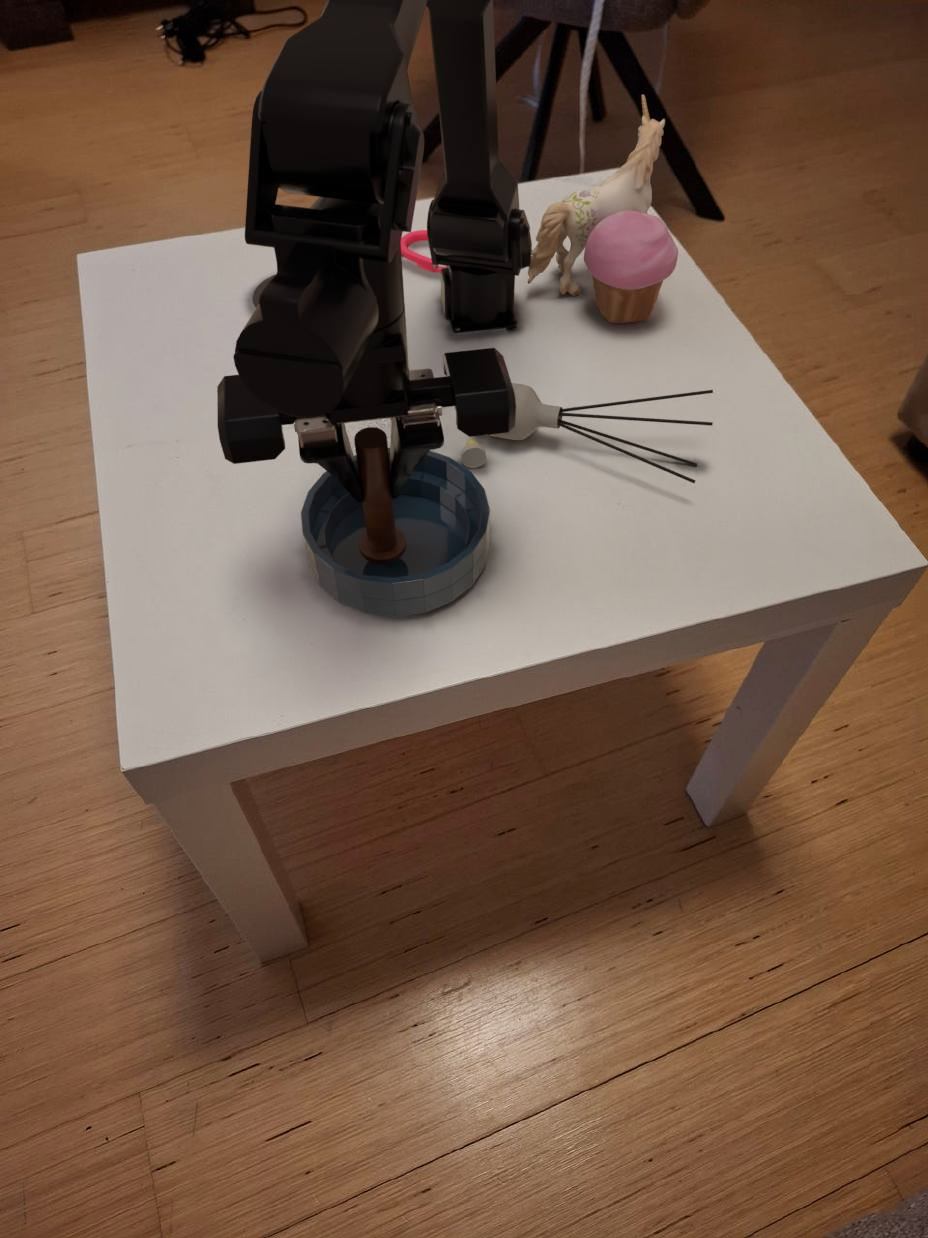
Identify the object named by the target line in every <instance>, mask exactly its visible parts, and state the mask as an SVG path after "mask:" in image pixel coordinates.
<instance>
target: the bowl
mask: <svg viewBox="0 0 928 1238" xmlns="http://www.w3.org/2000/svg"><path fill="white" fill-rule="evenodd" d="M388 455H389V463H390V447H388ZM354 458H355V462H356V465H357V468H358V464H357V457H356V454H355V455H354ZM306 494H307V495H306V497H305V500H304V502H303V505H302V508H301V511H300V519H301V520H300V521H301V531H302V537H303V540H304V542H303V543H304V546H305V551H306V557H307V561H308V565H309V568H310V570H311V572H312V574H313V576H314V578H315V579H316V581H317V583H318V584H319V586H320V588H321V589H323V590H324V591H325V592H326V593H327V594H328V595H330V596H331V597H332V598H333V599H335V600H336V601H337V602H338V603H340V604H341V605H344V606H346V607H349V608H352V609H354V610H356V611H358V612H361V613H364V614H366V615H373V616H384V617H393V618H395V617H396V618H397V617H398V618H399V617H406V616H413V615H420V614H421V615H422V614H426V613H429V612H431V611H434V610H436V609H438V608H441V607H443V606H446V605H448V604H450V603H453V601H455V600H456V599H457V598H459V597H460V596H461V595H462V594H463V593H465V592H466V591H467V590H469V589H470V588H471V587H472V586H473V585H474V584H475V583H476V581H477V580H478V579H479V576H480V575H481V573H482V572H483V570H484V568H485V567H486V564H487V559H488V552H489V546H490V532H491V531H490V525H491V520H490V519H491V509H490V505H489V501H488V496H487V492H486V490H485V488H484V486H483V485H482V483H481V482H480V481H479V480H478V478H477V477H476V476H475V475H474V473H473V471H471V470H469V469H468V467H466V466H465V465H463V464H461V463H459V462H458V461H456V460H455V459H453V458H452V457H450V456H448V455H444V454H441V453H438V452H435V451H432V450H430V451H429V452H428V453H427V454H426V456H425V457H424V458H423V459H422V461H421V462H420V463H419V464H418V465H417V467H416V468H415V469H414V471H413V472H412V474H411V475H410V477H409V479H408V481H407V483H406V484H405V486H404V488H403V490H402V491H401V493H400V495H399V497H398V498H395V499H393V508H394V519H395V527H396V528H398V529H399V530H400V531H401V532H402V533H403V534H404V536H405V539H406V550H405V552H404V554H403V555H402V556H401V557H400V558H399V559H398V560H396V561H394V562H392V563H388V564H375V563H371V562H369V561H367V560H366V559H365V558H364V557H363V556H362V555H361V553H360V550H359V539H360V537H361V535H362V534H363V533H364V532H365V531H366V525H365V518H364V510H363V502H362V503H357V501H356V500H355V499H354V498H353V497H352V496H351V495H350V493H349V492H348V491H347V490H346V489H345V488H344V486H343V485H342V484H341V483H340V482H339V481H338V480H337V479H336V478H335V477H334V476H332V475H331V474H330V473H329V472H327V471H326V470H325V471H324V472H323V473H322V474H321V475H320V477H319V478H318V479H317V480H316V481H315V483H313V485H312V486H311V487H310V488H309V490H308V492H307V493H306Z"/></svg>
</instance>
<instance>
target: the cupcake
mask: <svg viewBox="0 0 928 1238" xmlns="http://www.w3.org/2000/svg"><path fill="white" fill-rule="evenodd" d="M583 251H584V253H583V261H584V264H585V266H586V268H587V270H588V273H589V274H590V275H591V278H592V279H591V280H592V286H593V287H592V288H593V294H594V303H595V306H596V307H597V308H598V309H599V310H600V313H601V314H602V316H603V317H604V318H605V319H606V321H607V322H609V323H612V324H625V323H627V324H628V323H636V322H637V323H638V322H643V321H647V320H648V319H649V317H650V316H651V314H652V312H653V310H654V308H655V305H656V303H657V300H658V298H659V294H660V292H661V288H662V285H663V282H664V281H665V280H667V279H668V278H669V277H670V276H671V275H672V274H673V272H674V271H675V269H676V267H677V263H678V259H679V249H678V246H677V244H676V242H675V240H674V239H673V236H672V235H671V233H670V232H669V229H668V226H667V224H666V223H664V221H663V220H662V219H661V218H660V217H658V216H656V215H653V214H649V213H648V214H646V213H642V212H638V211H631V210H626V211H621V212H618V213H616V214H613V215H610V216H608V217H606V218H605V219H603V220H602V221H601V222H599V223H598V224H597V225H596V227H595V228H594V229H593V230H592V232H591V233H590V235H589V237H588V239H587V242H586V246H585V248H584V250H583Z"/></svg>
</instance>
